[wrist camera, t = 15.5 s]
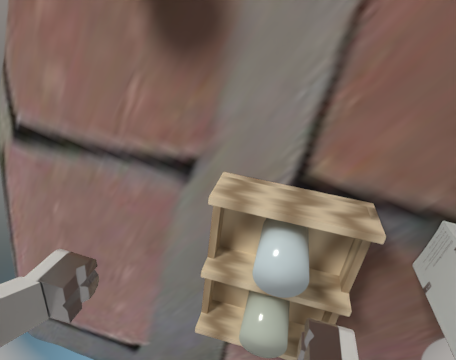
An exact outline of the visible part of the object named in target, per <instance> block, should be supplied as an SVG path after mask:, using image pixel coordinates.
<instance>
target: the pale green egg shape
mask: <svg viewBox="0 0 456 360" xmlns="http://www.w3.org/2000/svg"><path fill="white" fill-rule="evenodd" d="M289 308H290V301H288V300H285V299H281V298H277V297H274V296H270V295H266V294H262V293H259V292H255V291H251V290H249V293H248V298H247V303H246V307H245V312H244V316H243V321H242V325H241V330H240V335H239V340H240V343H241V344H242V346H243V347H244V348H245V349H246V350H247V351H248V352H250V353H252V354H254V355H256V356H259V357H263V358H275V357H279V356H281V355H282V354H284V353H285V351H286V350H287V342H288V325H289Z"/></svg>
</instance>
